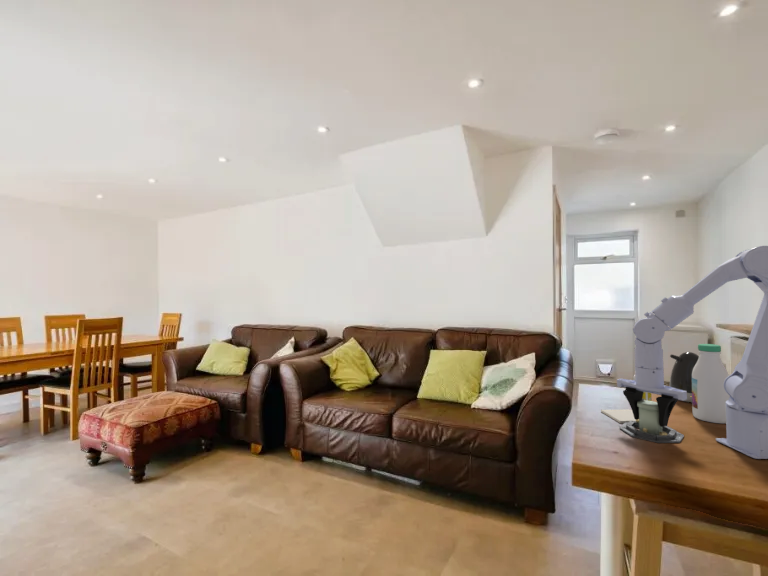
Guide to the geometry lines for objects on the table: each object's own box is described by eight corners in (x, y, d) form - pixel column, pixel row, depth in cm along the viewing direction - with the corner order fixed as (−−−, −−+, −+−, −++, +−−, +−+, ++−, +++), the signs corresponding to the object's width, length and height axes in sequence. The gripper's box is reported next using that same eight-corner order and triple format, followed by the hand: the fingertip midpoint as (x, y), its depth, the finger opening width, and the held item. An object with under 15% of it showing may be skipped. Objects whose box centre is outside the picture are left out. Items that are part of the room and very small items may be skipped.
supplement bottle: (645, 401, 114) (644, 374, 114) (655, 405, 109) (654, 377, 109) (629, 400, 115) (628, 374, 115) (638, 405, 110) (637, 377, 110)
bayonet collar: (695, 442, 83) (695, 435, 83) (642, 443, 84) (642, 435, 84) (658, 423, 95) (658, 417, 95) (611, 423, 96) (611, 417, 96)
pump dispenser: (662, 395, 119) (660, 349, 119) (698, 396, 118) (696, 349, 118) (682, 405, 109) (680, 354, 109) (721, 406, 107) (720, 355, 108)
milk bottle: (737, 421, 95) (735, 345, 96) (720, 426, 93) (718, 347, 93) (703, 412, 103) (700, 341, 103) (686, 416, 100) (683, 343, 100)
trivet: (655, 422, 96) (655, 420, 96) (620, 423, 96) (620, 420, 96) (632, 411, 105) (632, 409, 105) (601, 411, 105) (601, 409, 105)
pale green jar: (656, 438, 86) (655, 408, 86) (632, 431, 90) (631, 402, 90) (669, 432, 89) (668, 404, 89) (645, 426, 93) (644, 398, 93)
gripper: (692, 370, 85) (694, 428, 85) (626, 360, 98) (628, 410, 98) (677, 374, 82) (679, 434, 82) (611, 363, 95) (613, 415, 94)
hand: (650, 422), depth 90 cm, fingers closed on pale green jar, 5 cm apart
